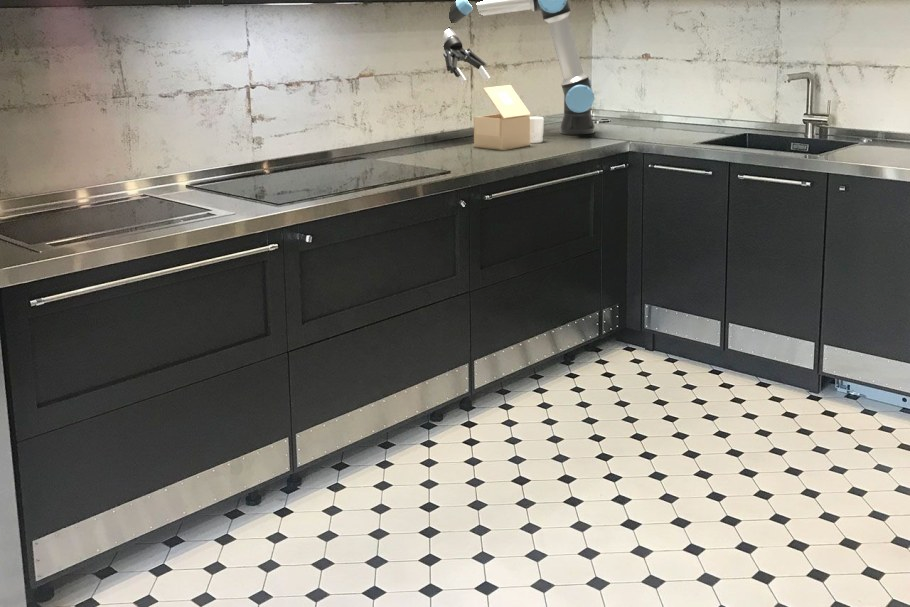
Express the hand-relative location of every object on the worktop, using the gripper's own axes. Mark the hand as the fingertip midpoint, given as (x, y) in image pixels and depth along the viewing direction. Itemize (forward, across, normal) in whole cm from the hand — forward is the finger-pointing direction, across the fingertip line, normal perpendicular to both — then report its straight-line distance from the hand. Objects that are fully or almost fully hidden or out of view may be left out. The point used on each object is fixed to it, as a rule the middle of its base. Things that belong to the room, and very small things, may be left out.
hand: (476, 81), depth 419 cm
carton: (+28, 0, -8) cm, 29 cm away
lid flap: (+17, 0, +7) cm, 18 cm away
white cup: (+29, -18, -7) cm, 35 cm away
